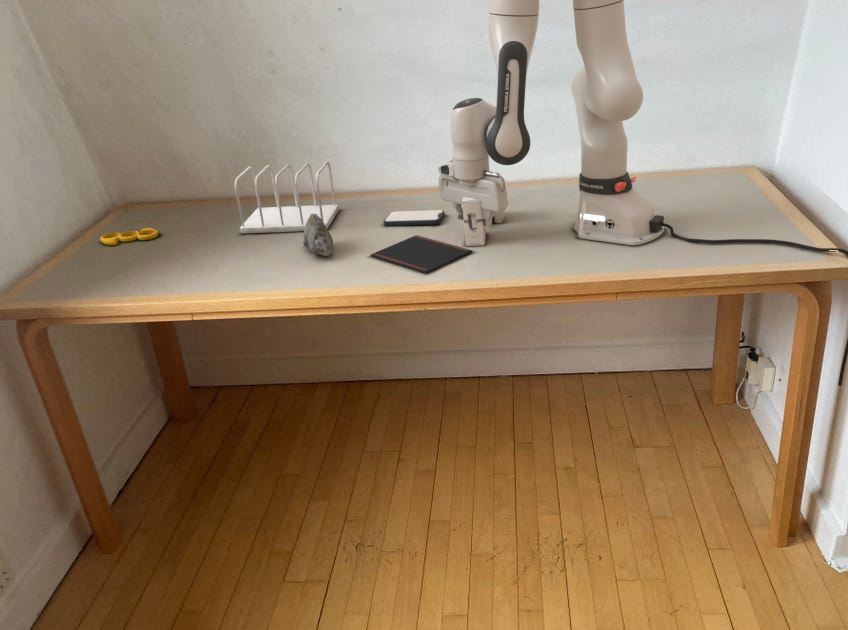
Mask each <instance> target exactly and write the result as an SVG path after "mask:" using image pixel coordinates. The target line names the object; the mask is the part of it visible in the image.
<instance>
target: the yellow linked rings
mask: <svg viewBox="0 0 848 630" xmlns="http://www.w3.org/2000/svg"><path fill="white" fill-rule="evenodd" d="M158 236H159V231H158V230H157V229H154V228H153V227H143V228H141V229H140V230H139V231H137V230H130V231H125V232H122V233H120V232H110V233H106V234H103V235H102V236H100V238H99V239H100V242H101V243H102V244H104V245H106V246H117V245H118V244H119V243H120V242H122V243H130V242H134V241H137V240H139V241H150V240H154V239H156V238H157V237H158Z"/></svg>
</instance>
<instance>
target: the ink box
mask: <svg viewBox="0 0 848 630" xmlns="http://www.w3.org/2000/svg"><path fill="white" fill-rule="evenodd" d="M461 207H462V209H463V218H464V220H463V225H464V227H463V228H464V237H465V238H464V239H465V246H466V247H475V246H479V247H480V246H485V244H486V236H487V228H486V227H487V226H484V225H483V219H484V218H485V215H484V209H481V201H480V200H478V199H474V198H466V197H463V200H462V205H461Z"/></svg>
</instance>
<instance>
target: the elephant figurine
mask: <svg viewBox="0 0 848 630" xmlns="http://www.w3.org/2000/svg"><path fill="white" fill-rule="evenodd" d="M506 192H507V200H508V202H509V201H510V198H509V195H508V191H507V189H506ZM484 215H485V218H486V216H487V214H486V213H485V209H484ZM504 217H505V213H504V210H502V211H500V212H495V213H494V215H493V219H494V221H493V223H496V224H502V223H503V222H504Z"/></svg>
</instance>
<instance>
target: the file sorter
mask: <svg viewBox="0 0 848 630" xmlns="http://www.w3.org/2000/svg"><path fill="white" fill-rule="evenodd" d="M292 167H293V166H292V165H291V164H290V163H287V164H286V165H285V166H284V167H283V168H281V170H279V171H278V172H277V173H276V174H275V177H274V173H273V168H272V166H271V164H267V165H266V166H264V167H263V168H262V169H261V170H260V171H259V173H258V174H255V170H254V168H253V167H252V166H248V167H246V169H244V170H243V171H242V172H241V173H240V174H239V175H238V176H237V177H236V178H235V180H234V192H235V197H236V201H237V207H238V212H239V217H240V222H241V226H240V227H239V233H240V234H264V233H265V234H267V233H268V234H269V233H291V232H304V228H305V224H306V223H307V220H308V218H309V217H310V214H317V215H318V216H319V217H320V218H321V219H322V220H323V222H324V225H325V227H326V229H327V230H328V228H329V226H330V225H331V223H332V222H333V220H334V218H335V217H336V216H337V213H338V212H339V211H340V206H339V204H337V203H336V198H335V190H334V182H333V175H332V174H333V173H332V168H331V164H330V162H329V161H328V160H327V161H325V162H324V163H323V164H322V166H321V167H320V168H319V169H318V170H317V171H316V174H315V182H314V177H313V176H314V175H313V171H312V166H311V164H310V163H308V162H307V163H305V164H304V165H303V166H302V167H301V168H300V169H299V170H298V171H297V172H296V173H295V176H294V172H293V168H292ZM307 167H308V170H309V177H310V185H311V190H312V198H313V204H314V205H312V204H311V205H310V204H309V205H301V199H300V193H299V186H298V177H299V175H300V174H301V173H302V172H303V171H304V170H305V169H306V168H307ZM325 167H327V168H328V174H329V180H330V181H329V182H330V190H331V197H332V204H322V201H321V194H320V187H319V185H320V184H319V177H320V176H319V175H320V174H321V173H322V171H323V170H324V169H325ZM288 168H289V172H290V177H291V182H292V183H291V184H292V191H293V197H294V202H295V205H288V206H287V205H286V206H282V204H281V198H280V193H279V185H278V178H279V176H280V175H282V174H283V172H285V170H287V169H288ZM267 169H269V172H270V178H271V183H272V186H273V192H274V197H275V203H276V206H267V207H265V206H264V207H262V203H261V197H260V191H259V184H258V180H259V177H260V176H262V174H264V172H265V171H266V170H267ZM249 170H250V171H251V174H252V179H253V185H254V190H255V195H256V201H257V206H258V207H257V208H256V209H255V210H254V211H253V212H252V214H251V215H250V216H249V217H248V218H247V219H246V220H244V216H243V210H242V205H241V201H240V196H239V190H238V183H239V182H238V181H239V180H240V179H241V178H242V177H243V176H244V175H245V174H246V173H248V171H249ZM314 183H315V184H314ZM315 186H316V187H315ZM315 188H316V191H315ZM316 193H317V198H316ZM317 200H318V204H317Z"/></svg>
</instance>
